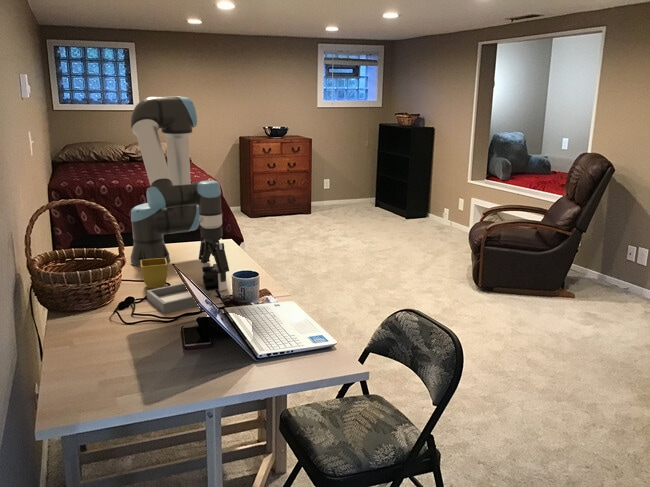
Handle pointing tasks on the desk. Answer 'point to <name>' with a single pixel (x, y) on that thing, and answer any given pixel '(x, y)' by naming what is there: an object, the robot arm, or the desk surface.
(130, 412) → the desk surface
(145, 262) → the flower pot
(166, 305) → the holder tray
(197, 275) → the desk surface
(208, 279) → the end cap
